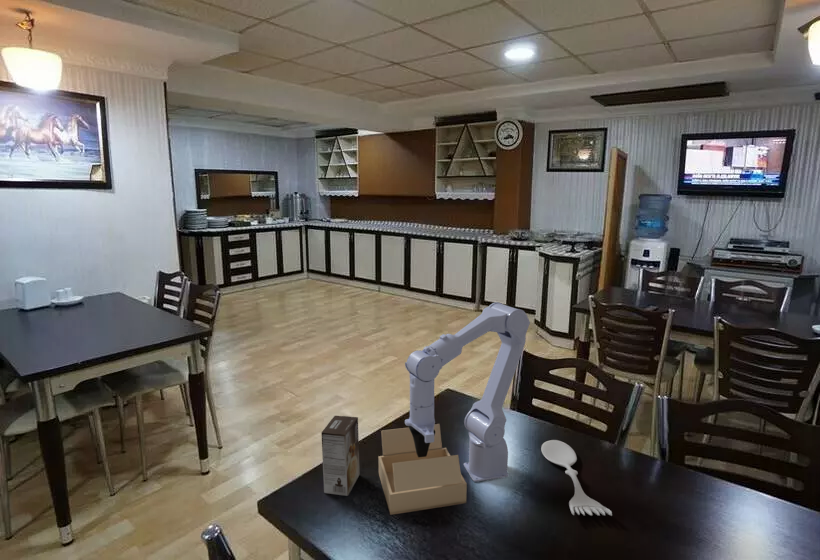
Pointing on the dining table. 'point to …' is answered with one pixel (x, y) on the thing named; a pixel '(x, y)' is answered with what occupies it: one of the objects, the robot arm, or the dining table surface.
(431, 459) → the near flap
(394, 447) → the far flap
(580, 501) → the spoon
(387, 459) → the carton
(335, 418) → the coffee box
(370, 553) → the dining table surface
